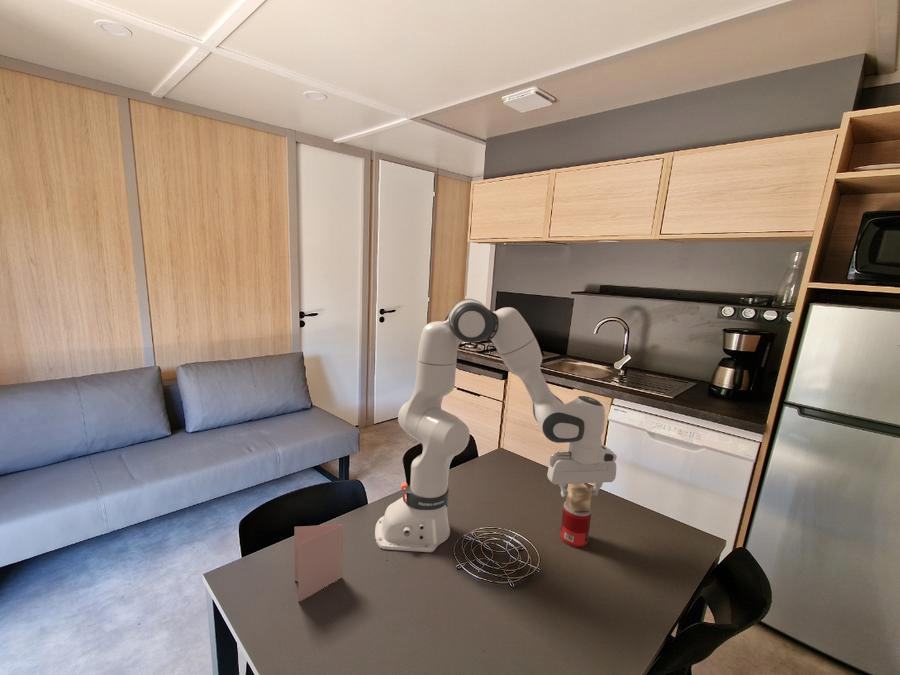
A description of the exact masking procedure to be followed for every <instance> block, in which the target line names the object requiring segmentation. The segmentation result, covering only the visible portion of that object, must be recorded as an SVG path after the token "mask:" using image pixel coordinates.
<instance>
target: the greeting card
mask: <svg viewBox="0 0 900 675" xmlns="http://www.w3.org/2000/svg"><path fill="white" fill-rule="evenodd" d="M293 529H294V582H295V581H296V580H298V582H297V590H298V591H297V592H298V593H297V595H298V596H297V599H298V601H297V603H298V602H299V601H300V602H302V601H303V599H304V600H306V599H307V598H306V597H308V596H309V597H311V596H313V595H315V594H317V593H318V592H320V591H322V590H324V589H325V588H324V587H326V586H327V587H329V586H330V585H329V584H331V583H333V582H334V583H336V582H338V581H339V580H338V579H340V578H342V579H343V563H344V562H343V557H344V524H343V523H342V524H341V523H340V524H324V525H323V524H322V525H307V526H306V525H305V526H294V528H293ZM337 580H338V581H337ZM340 580H341V579H340ZM335 581H336V582H335ZM334 583H333V584H334ZM328 585H329V586H328ZM331 585H332V584H331ZM327 587H326V588H327ZM323 588H324V589H323ZM321 589H322V590H321ZM319 590H320V591H319ZM317 591H318V592H317ZM316 592H317V593H316ZM314 593H315V594H314ZM312 594H313V595H312ZM310 595H311V596H310ZM309 597H308V598H309ZM305 598H306V599H305ZM301 600H302V601H301ZM300 602H299V603H300Z"/></svg>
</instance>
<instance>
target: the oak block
mask: <svg viewBox="0 0 900 675" xmlns="http://www.w3.org/2000/svg"><path fill="white" fill-rule="evenodd" d="M566 489H567V491H568V497H565V498H566V499H565V501H566V503H567V504H568V505H569V506H570V508H571V509H572V510H573V511H574V512H579V511H590V507H591V503H592V492H591V491H590V488H589V487H588V486H587V485H586V483H578V484H567V488H566Z"/></svg>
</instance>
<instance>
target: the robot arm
mask: <svg viewBox="0 0 900 675" xmlns="http://www.w3.org/2000/svg"><path fill="white" fill-rule="evenodd" d="M484 341H491V342H492V344H493V345H494V347H495V349H496V351H497V353H498V355H499V357H500V358H501V360H502V362H503V364H504V365H505V366H506V368H507V369H508V370H509V371H510V373H511V374H513V375H515V376H516V377H518V378H519V379H520V380H521V382H522V383H523V384H524V387H525V389H526V391H527V393H528V395H529V397H530V399H531V401H532V413H533V417H534V419H535V421H536V422H537V424H538V426H539V427H540V430H541V431H542V433H543V435H544V436H545V437H546V439H547V440H549V441H551V442H552V443H556V444H564V443H566V444H567V443H568V444H569V445H568V451H563V452H560V451H556V452H555V453H553V454H552V455H551V456H550V458H549V465H548V470H547V475H546V476H547V479H548V481H550V483H551V484H552V485H558V486H559V488H560V496H561V497H562V498H566V497H568V491H567V488H566V487H567V485H568V484H578V483H584V484H593V486H592V487H590V488H589V490H590V491H591V492H592V495H591V497H592V496H598V494H599V490H601V488H602V486H603V483H613V482H614V481H615V479H616V475H617V463H616V460H617V454H616V453H615V452H614V451H612V450H611V449H610V448H609V447H607V446H605V445H604V444H602V435H603V433H604V432H605V431H604V429H605V419H606V413H605V407H604V405H603V404H602V403H601V402H600V401H599V400H597V399H595V398H594V397H590V396H586V395H579V396H577V397H576V398H575V399H574V400H571V401H569V402H567V403H564V402H563V400H562V399H560V398H559V397H558V396H556V395H555V394H554V393H553V392H552V391H551V388H549V386H548V383H547V381H546V379H545V377H544V376H543V374H542V370H541V364H543V363H542V362H543V355H542V352H541V348H540V346H539V343H538V340H537V338H536V336H535V335H534V333H533V331H532V329H531V328H530V326H529V324H528V322H527V321H526V320H525V318H524V317H523V316H522V314H521V313H520V312H519V311H518V309H516V308H514V307H510V306H509V307H507V306H506V307H502V308H499V309H497V310H495V311H492V310H490V309H488V308H487V306H485V305H484V304H483V303H482V302H480V301H479V300H476V299H473V298H463V299H461V300H459V301H458V302H456V303H455V305H454V306H453V307H452V308H451V309H450V311H449V313H448V315H447V316H446V317H445V320H444V321H440V320H439V321H438V320H437V321H432V322H429V323H427V324H426V325H425V326H424V327H423V329H422V332H421V335H420V339H419V344H418V349H417V350H418V351H417V361H416V371H415V372H416V374H415V375H416V376H415V383H414V387H413V392H412V394H411V396H410V398H409V400H408V401H406V402H405V403H403V405H401V407H400V409H399V411H398V415H397V422H398V424H399V426H400V427H401V428H402V430H403V431H405V433H406V434H407V435H408V436H410V437H411V438H414V440H417V441H418V442H420V443H421V445H422V453H420V454H419V455H417V456H416V457H415V458H414V459H413V460H412V462H411V464H410V484H409V485H408V483H407V482H402V483H401V485H400V489H401V491H402V497H400V498H399V499H397V500H396V501H394V502H392V503H390V504H389V505H388V506H386V507H387V508H386V509H385V512H384V515H383V516H380V518H379V519H378V520H377V522H376V524H375V528H374V540H375V539H376V540H375V542H376V545H377V546H378V548H380V549H381V548H382V549H381V550H388V551H389V550H392V551H403V552H404V551H405V552H423V553H433V552H434V551H435V550H436V548H438V546H440V545H441V544H443V543H444V542H446V541H447V540H448V539H449V537H450V535H451V527H450V525H449V519H448V518H449V517H448V506H449V499H450V497H449V496H450V491H449V490H450V489H449V486H448V485H449V484H448V483H449V472H450V465H451V463H452V460H453V459H454V457H455V456H458V455H460V454H461V453H462V452H464V451H465V449H466V447H467V446H468V444H469V441H470V437H471V436H470V429H469V427H468V426H467V424H466V423H465V422H464V421H463V420H461V419H460V418H459V417H458V416H457V415H455V414H452V413H451V412H448V411H446V410H443V409H442V402H443V400H444V397H445V396H447V395H449V394H450V393H451V392H452V391H453V390H454V388H455V384H456V374H457V371H456V370H457V361H458V360H457V359H458V358H457V357H458V349H459V346H460V344H461V343H462V342H464V343H468V344H469V343H470V344H471V343H480V342H484Z"/></svg>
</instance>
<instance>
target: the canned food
mask: <svg viewBox="0 0 900 675" xmlns="http://www.w3.org/2000/svg"><path fill="white" fill-rule="evenodd" d="M592 511H593V510H592V507H591V506H590V511H579V512H574V511H573V510H572V509H571V508H570V506H569V505H568V504H567V503H566V500H565V501H564V503H563V508H562V517H561V526H560V527H561V528H560V539H561V540H562V541H563V542H564V543H565V544H567V545H568V546H570V547H574V548H583V547H585V546H586V545H587V544H588V541H589V534H590V528H591V527H590V526H591V519H592Z"/></svg>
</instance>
